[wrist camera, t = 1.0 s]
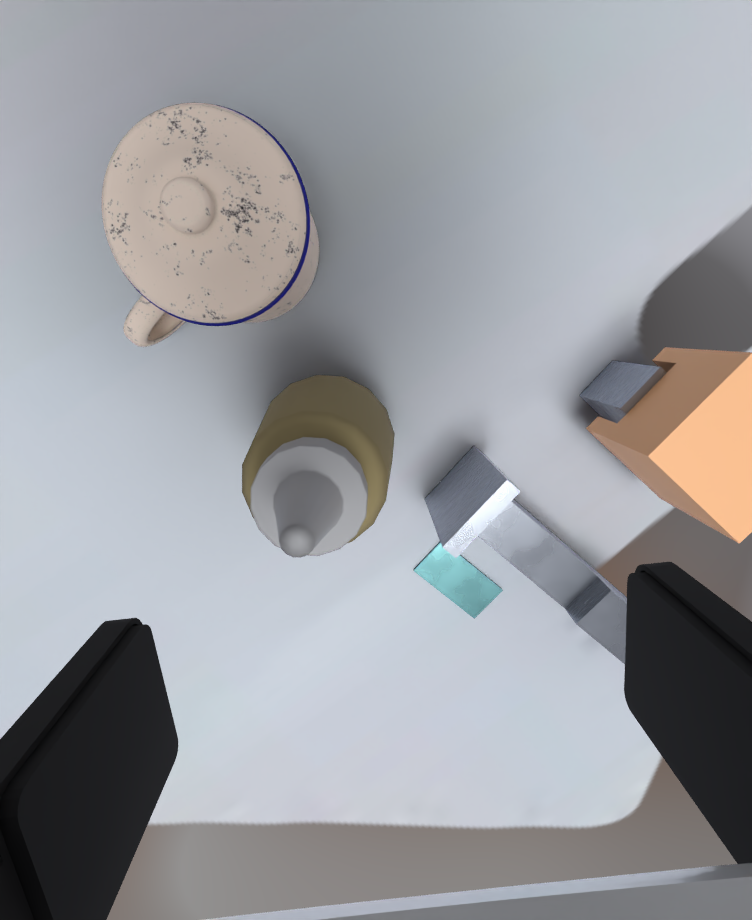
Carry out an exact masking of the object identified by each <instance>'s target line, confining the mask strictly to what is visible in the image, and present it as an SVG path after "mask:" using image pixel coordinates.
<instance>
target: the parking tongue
mask: <svg viewBox="0 0 752 920" xmlns="http://www.w3.org/2000/svg"><path fill="white" fill-rule="evenodd" d="M665 374H666V372H665V370H664V369H663V368H662V367H658V366H650V365H642V364H635V363H627V362H619V361H612V362H611V363H610V364H609V365H608V366H607V367H606V368H605V369H604V370H603V371H602V372H601V373H600V374H599V375H598V376H597V377H596V379H595V380H594V381H593V382H592V383H591V384H590V385H589V386H588V387H587V388H586V389H585V390H584V391H583V392H582V393H581V394H580V395H579V396H580V397H581V398H582V399H583V400H584V401H585V402H587V403H588V404H589V405H590V406H591V407H592V408H593V409H594V410H595V411H596V412H597V413H598V414H599V415H600V416H601V417H602V418H604V419H607V420H609V421H612V422H615V423H618V422H619V421H620V420H621V419H622V418H623V417H624V416H625V415H626V414H627V413H628V412H629V411H630V410H631V409H632V408H633V407H634V406H635V405H636V404H637V403H638V402H639V401H640V400H641V399H642V398H643V397H644V396H645V395H646V394H647V393H648V392H649V391H650V390H651V389H652V388H653V386H654V385H655V384H656V383H657V382H658V381H659V380H660V379H661V378H662V377H663V376H664V375H665Z"/></svg>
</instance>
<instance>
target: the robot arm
mask: <svg viewBox="0 0 752 920" xmlns="http://www.w3.org/2000/svg"><path fill="white" fill-rule="evenodd" d="M624 692H625V698H626V702H627V704H628V707H629V709H630V711H631V712H632V714H633V715H634V717H635V718H636V720H637V721H638V722H639V724H640V725H641V727H642V728H643V730H644V731H645V732H646V734H647V735H648V737H649V738H650V740H651V741H652V742H653V744H654V745H655V747H656V748H657V750H658V751H659V752H660V754H661V755H662V757H663V758H664V759H665V761H666V762H667V763H668V765H669V766H670V768H671V769H672V771H673V772H674V774H675V775H676V777H677V778H678V779H679V781H680V782H681V784H682V785H683V787H684V788H685V789H686V791H687V792H688V794H689V795H690V797H691V798H692V799H693V801H694V802H695V804H696V805H697V806H698V808H699V809H700V811H701V812H702V814H703V815H704V816H705V818H706V819H707V821H708V822H709V824H710V825H711V826H712V828H713V829H714V831H715V832H716V833H717V835H718V836H719V838H720V839H721V841H722V842H723V844H724V845H725V846H726V848H727V849H728V851H729V852H730V853H731V855H732V856H733V858H734V859H735V861H736V862H737V863H738V864H733V865H721V866H711V867H700V868H690V869H680V870H670V871H660V872H650V873H640V874H629V875H620V876H609V877H600V878H589V879H579V880H569V881H559V882H548V883H538V884H528V885H519V886H509V887H500V888H490V889H481V890H471V891H462V892H453V893H442V894H434V895H424V896H414V897H405V898H395V899H386V900H377V901H367V902H358V903H348V904H339V905H330V906H320V907H311V908H302V909H293V910H284V911H275V912H266V913H257V914H248V915H239V916H231V917H221V918H212V919H203V920H752V622H751V621H750V620H749V619H747V618H746V617H744V616H743V615H742V614H740V613H739V612H738V611H736V610H735V609H734V608H732V607H731V606H730V605H729V604H727V603H726V602H725V601H723V600H722V599H721V598H719V597H718V596H717V595H715V594H714V593H713V592H711V591H710V590H709V589H707V588H706V587H705V586H703V585H702V584H701V583H699V582H698V581H697V580H695V579H694V578H693V577H691V576H690V575H689V574H687V573H686V572H685V571H683V570H682V569H681V568H679V567H678V566H677V565H675V564H674V563H672V562H663V563H653V564H643V565H639V566H638V567H637V569H636V571H635V573H631V574H630V575H629V577H628V582H627V613H626V648H625V683H624ZM177 751H178V738H177V733H176V729H175V725H174V721H173V717H172V713H171V708H170V704H169V700H168V696H167V692H166V688H165V684H164V680H163V676H162V672H161V668H160V664H159V659H158V655H157V651H156V647H155V643H154V639H153V635H152V631H151V628H150V627H149V626H148V625H142V623H141V621H140V620H139V619H137V618H131V619H121V620H112V621H105V622H104V623H103V624H101V626H100V627H99V628H98V629H97V630H96V631H95V632H94V633H93V635H92V636H91V637H90V638H89V639H88V640H87V641H86V643H85V644H84V645H83V646H82V647H81V648H80V649H79V651H78V652H77V653H76V654H75V655H74V656H73V657H72V658H71V660H70V661H69V662H68V663H67V664H66V665H65V666H64V668H63V669H62V670H61V671H60V672H59V673H58V674H57V676H56V677H55V678H54V679H53V680H52V681H51V682H50V683H49V685H48V686H47V687H46V688H45V689H44V690H43V691H42V693H41V694H40V695H39V696H38V697H37V698H36V699H35V701H34V702H33V703H32V704H31V705H30V706H29V707H28V708H27V710H26V711H25V712H24V713H23V714H22V715H21V716H20V718H19V719H18V720H17V721H16V722H15V723H14V724H13V726H12V727H11V728H10V729H9V730H8V731H7V732H6V733H5V735H4V736H3V737H2V738H1V739H0V920H106V919H107V917H108V915H109V912H110V910H111V907H112V905H113V903H114V900H115V898H116V896H117V894H118V891H119V889H120V887H121V884H122V882H123V880H124V878H125V875H126V873H127V871H128V868H129V866H130V864H131V861H132V859H133V857H134V854H135V852H136V850H137V847H138V845H139V843H140V841H141V838H142V836H143V834H144V831H145V829H146V827H147V824H148V822H149V820H150V817H151V815H152V813H153V810H154V808H155V806H156V804H157V801H158V799H159V797H160V794H161V792H162V790H163V787H164V785H165V783H166V780H167V778H168V776H169V773H170V771H171V769H172V767H173V764H174V762H175V759H176V756H177Z"/></svg>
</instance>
